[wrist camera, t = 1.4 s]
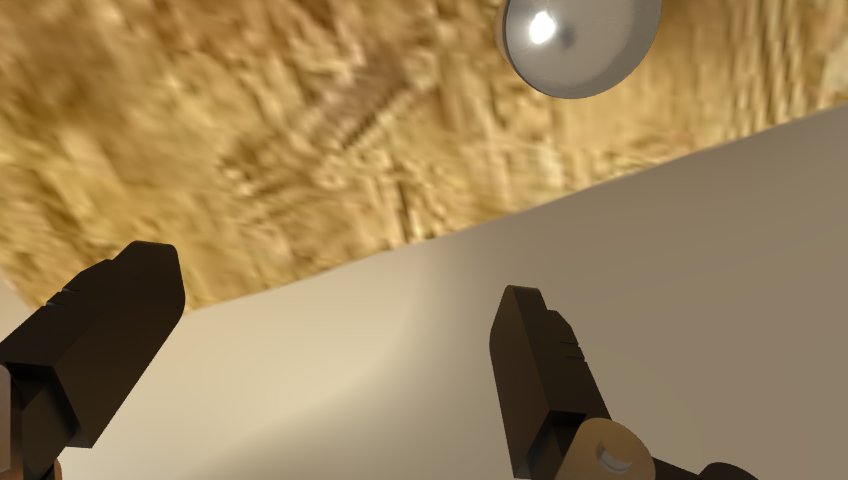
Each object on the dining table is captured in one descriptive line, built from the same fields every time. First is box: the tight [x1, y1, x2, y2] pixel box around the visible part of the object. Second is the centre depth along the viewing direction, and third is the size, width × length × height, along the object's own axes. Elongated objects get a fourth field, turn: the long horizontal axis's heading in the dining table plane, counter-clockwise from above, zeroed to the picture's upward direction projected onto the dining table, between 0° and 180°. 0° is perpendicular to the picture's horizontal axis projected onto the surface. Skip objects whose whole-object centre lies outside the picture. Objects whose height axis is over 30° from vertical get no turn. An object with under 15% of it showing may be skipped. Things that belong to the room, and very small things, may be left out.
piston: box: [493, 0, 662, 99], centre depth 19 cm, size 5×5×12 cm
